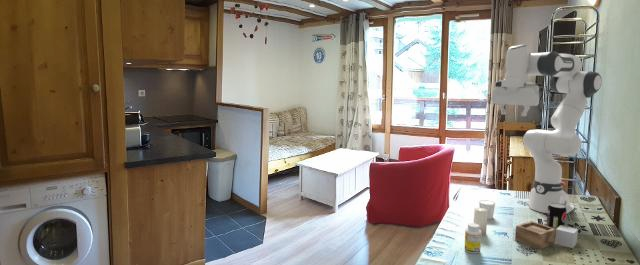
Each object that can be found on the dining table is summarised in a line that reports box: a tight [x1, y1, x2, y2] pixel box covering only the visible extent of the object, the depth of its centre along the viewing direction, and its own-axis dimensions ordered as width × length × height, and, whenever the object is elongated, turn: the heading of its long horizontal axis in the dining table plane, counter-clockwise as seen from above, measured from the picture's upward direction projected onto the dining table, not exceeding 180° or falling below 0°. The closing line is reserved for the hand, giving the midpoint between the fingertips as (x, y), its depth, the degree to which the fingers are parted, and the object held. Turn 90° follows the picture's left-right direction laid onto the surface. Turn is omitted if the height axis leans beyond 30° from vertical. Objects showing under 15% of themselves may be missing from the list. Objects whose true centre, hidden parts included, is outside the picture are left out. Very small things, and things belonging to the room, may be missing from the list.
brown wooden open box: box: [514, 220, 556, 250], centre depth 153 cm, size 10×10×6 cm
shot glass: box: [478, 199, 496, 220], centre depth 181 cm, size 7×7×7 cm
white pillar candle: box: [473, 207, 488, 236], centre depth 161 cm, size 5×5×10 cm
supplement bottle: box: [464, 222, 482, 255], centre depth 144 cm, size 6×6×10 cm
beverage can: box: [545, 203, 567, 229], centre depth 161 cm, size 7×7×12 cm
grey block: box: [554, 225, 579, 249], centre depth 151 cm, size 6×6×6 cm
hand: (513, 115), depth 169 cm, fingers open, 8 cm apart
